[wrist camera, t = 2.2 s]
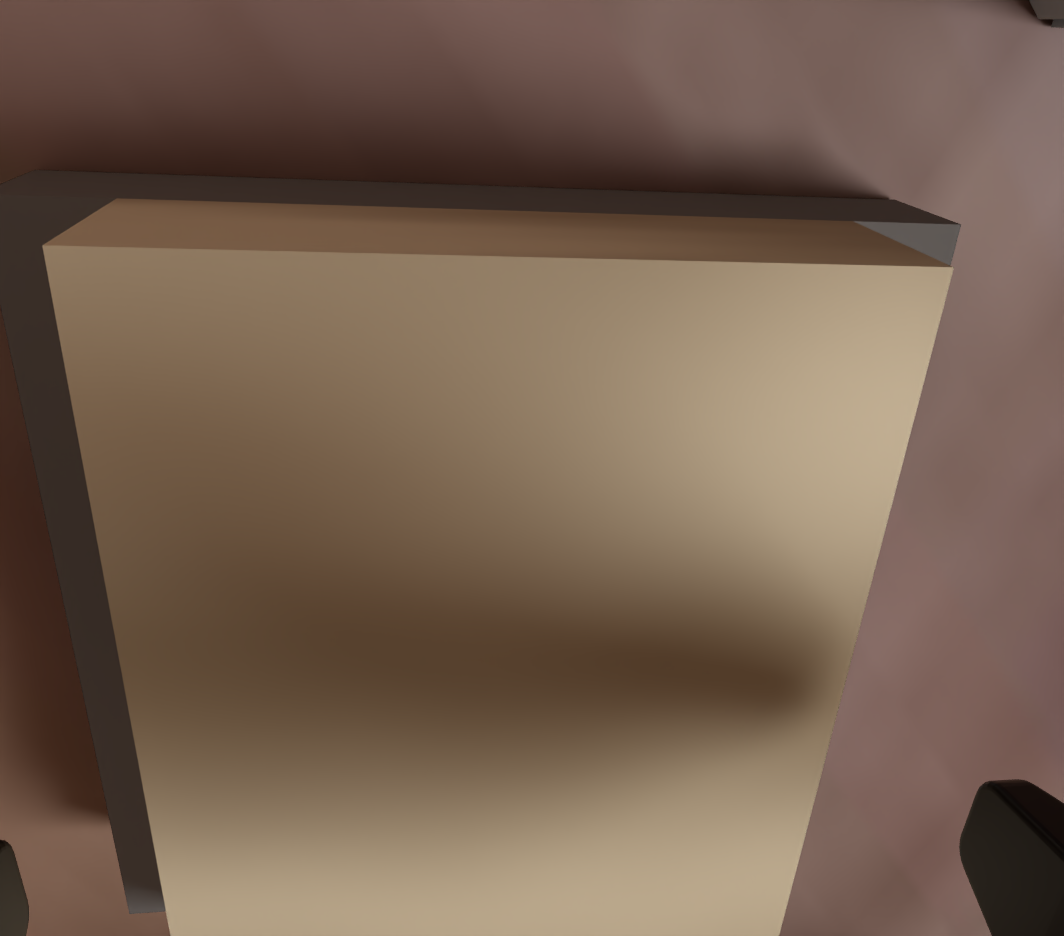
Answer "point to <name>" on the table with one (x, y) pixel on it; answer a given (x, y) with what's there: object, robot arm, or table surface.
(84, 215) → the mat
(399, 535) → the cover board
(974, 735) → the table surface
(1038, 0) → the bowl
